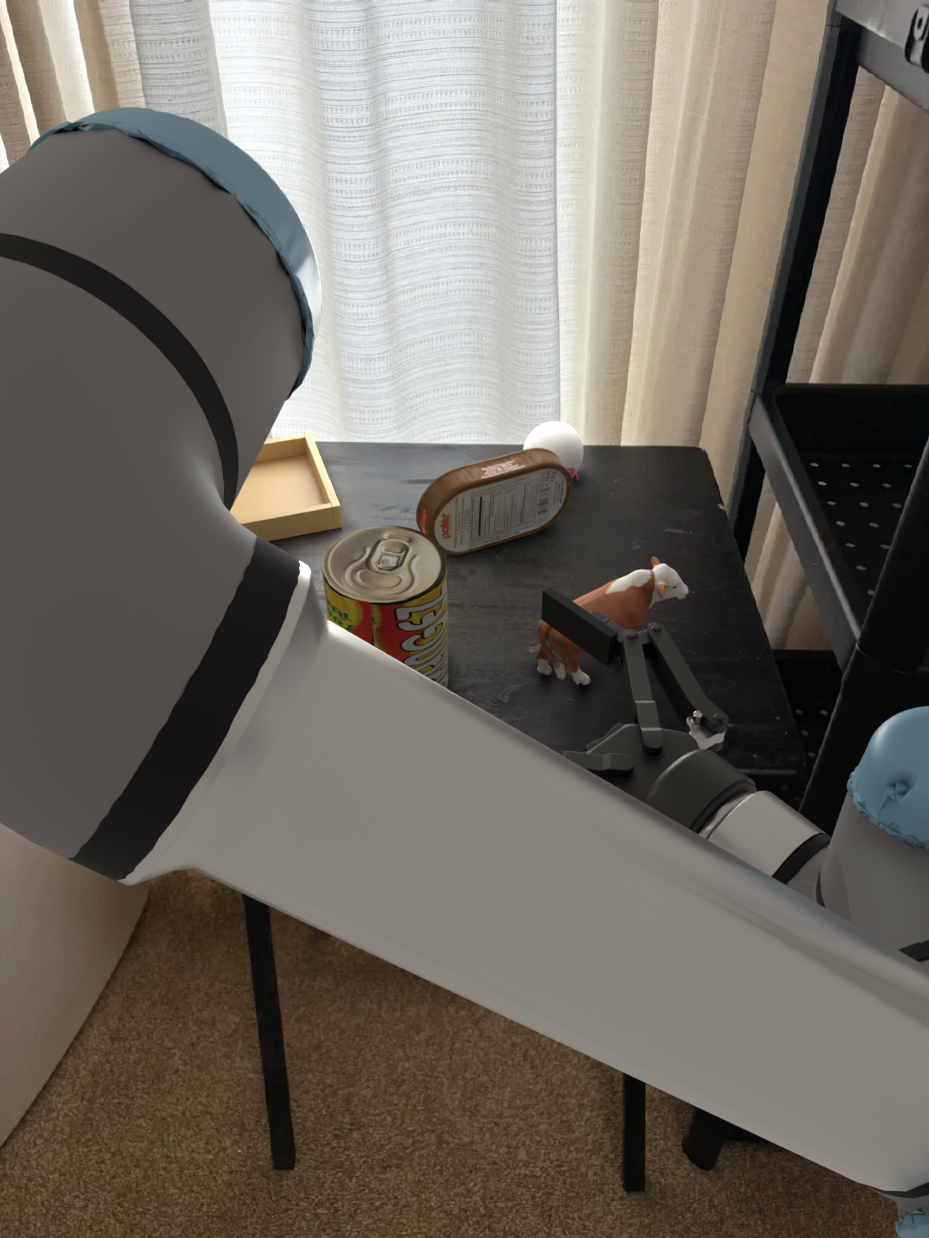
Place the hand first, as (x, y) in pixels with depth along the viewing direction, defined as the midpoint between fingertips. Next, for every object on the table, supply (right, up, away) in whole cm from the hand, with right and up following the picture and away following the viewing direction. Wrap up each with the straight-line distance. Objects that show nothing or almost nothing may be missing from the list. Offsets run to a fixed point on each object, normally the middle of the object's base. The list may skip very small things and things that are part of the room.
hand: (472, 645), depth 71 cm
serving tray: (-21, +13, +31) cm, 40 cm away
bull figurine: (+11, -2, +15) cm, 18 cm away
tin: (+2, +9, +27) cm, 28 cm away
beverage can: (-6, -3, +13) cm, 15 cm away
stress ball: (+8, +16, +34) cm, 38 cm away
